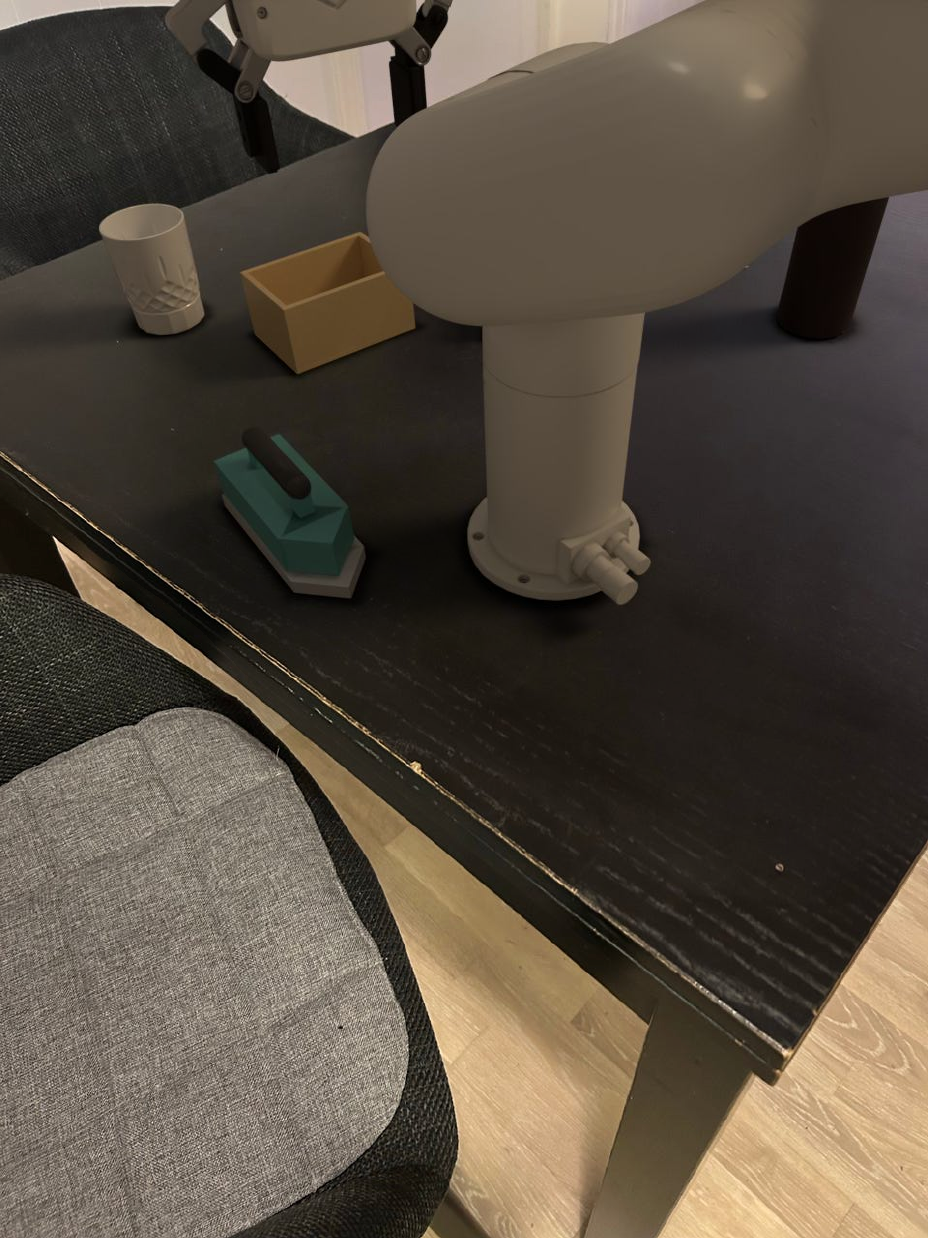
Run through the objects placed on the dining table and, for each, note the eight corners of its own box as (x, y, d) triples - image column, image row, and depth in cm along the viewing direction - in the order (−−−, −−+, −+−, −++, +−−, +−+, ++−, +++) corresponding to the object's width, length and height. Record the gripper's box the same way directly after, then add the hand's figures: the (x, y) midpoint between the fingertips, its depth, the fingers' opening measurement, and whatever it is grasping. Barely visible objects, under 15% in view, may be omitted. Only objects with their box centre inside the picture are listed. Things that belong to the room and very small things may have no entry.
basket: (415, 328, 87) (409, 264, 82) (297, 374, 82) (283, 309, 77) (368, 292, 92) (360, 231, 87) (254, 334, 87) (239, 271, 82)
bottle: (784, 299, 87) (838, 71, 72) (855, 311, 85) (926, 79, 70) (768, 332, 83) (822, 98, 68) (842, 346, 81) (915, 108, 66)
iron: (225, 506, 70) (199, 427, 64) (292, 476, 72) (273, 398, 66) (313, 617, 61) (293, 538, 55) (387, 580, 63) (374, 500, 58)
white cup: (117, 331, 89) (81, 233, 81) (162, 295, 94) (132, 199, 86) (182, 344, 87) (151, 244, 79) (225, 305, 91) (199, 208, 84)
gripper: (126, -203, 38) (225, 202, 51) (479, -241, 43) (488, 138, 55) (93, -213, 43) (191, 160, 55) (415, -247, 47) (437, 104, 60)
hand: (340, 148), depth 55 cm, fingers open, 9 cm apart
